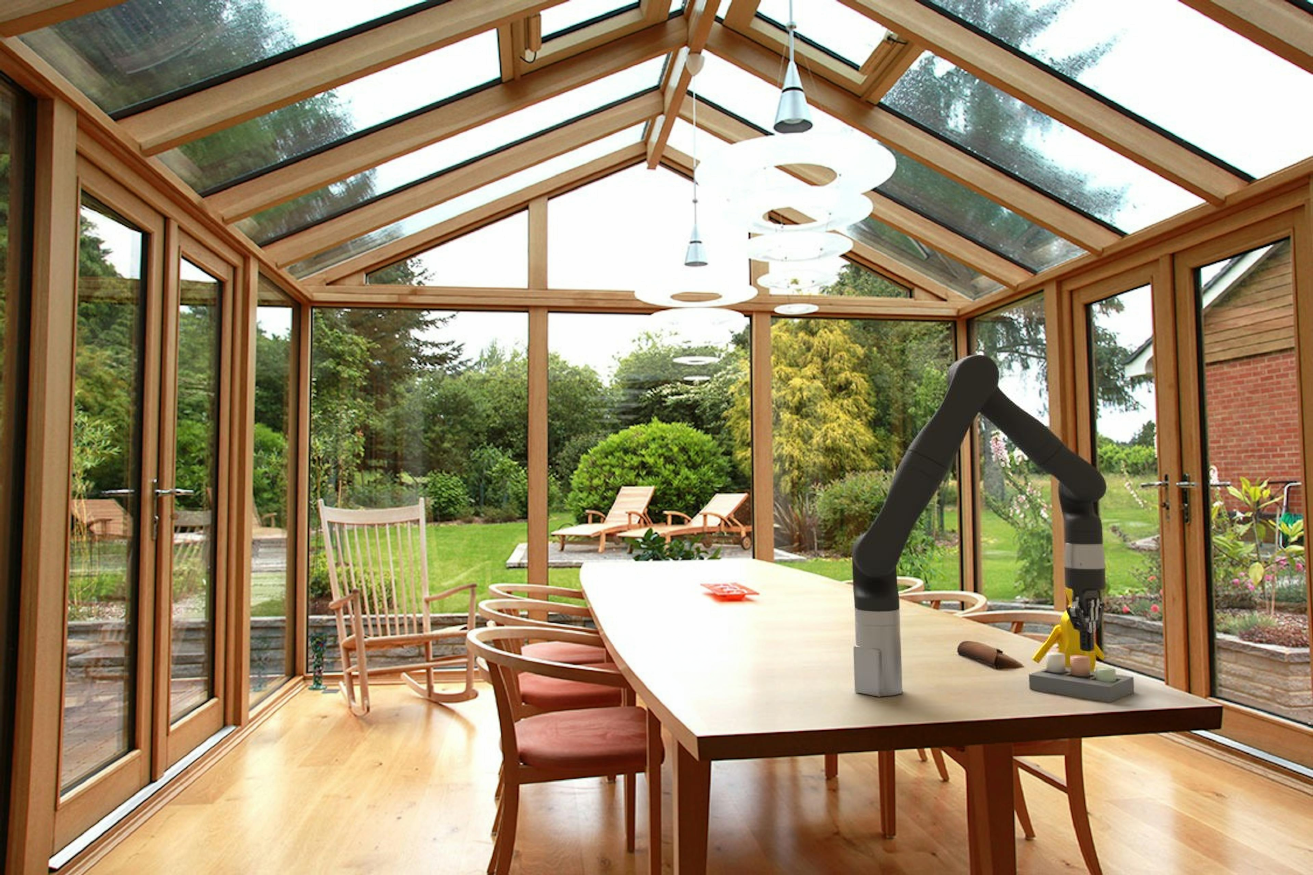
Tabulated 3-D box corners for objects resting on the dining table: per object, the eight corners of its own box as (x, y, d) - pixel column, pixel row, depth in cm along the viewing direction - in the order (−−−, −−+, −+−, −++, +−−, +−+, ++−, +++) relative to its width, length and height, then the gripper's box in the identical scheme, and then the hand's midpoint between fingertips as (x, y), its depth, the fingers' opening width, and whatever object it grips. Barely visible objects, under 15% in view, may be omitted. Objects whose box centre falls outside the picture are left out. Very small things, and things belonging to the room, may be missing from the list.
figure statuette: (1098, 668, 198) (1094, 572, 199) (1122, 675, 190) (1117, 575, 191) (1027, 672, 195) (1023, 574, 196) (1048, 680, 187) (1043, 578, 188)
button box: (1110, 702, 168) (1109, 686, 168) (1029, 688, 180) (1028, 674, 180) (1134, 691, 176) (1133, 676, 176) (1055, 679, 188) (1054, 665, 188)
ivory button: (1060, 673, 179) (1060, 656, 180) (1043, 670, 182) (1043, 653, 182) (1068, 670, 182) (1067, 653, 182) (1051, 667, 185) (1050, 651, 185)
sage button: (1112, 689, 172) (1111, 671, 172) (1093, 686, 175) (1092, 669, 175) (1119, 686, 174) (1118, 668, 174) (1100, 683, 177) (1099, 666, 177)
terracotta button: (1085, 676, 176) (1084, 659, 176) (1067, 674, 178) (1067, 657, 179) (1093, 673, 178) (1092, 656, 178) (1075, 671, 181) (1074, 654, 181)
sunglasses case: (1028, 667, 200) (1014, 642, 200) (1005, 684, 199) (990, 659, 199) (987, 652, 218) (974, 630, 218) (965, 668, 217) (952, 645, 217)
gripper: (1089, 569, 170) (1092, 657, 170) (1117, 564, 179) (1119, 648, 178) (1051, 566, 176) (1054, 652, 175) (1080, 562, 185) (1082, 643, 184)
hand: (1087, 650), depth 177 cm, fingers closed
